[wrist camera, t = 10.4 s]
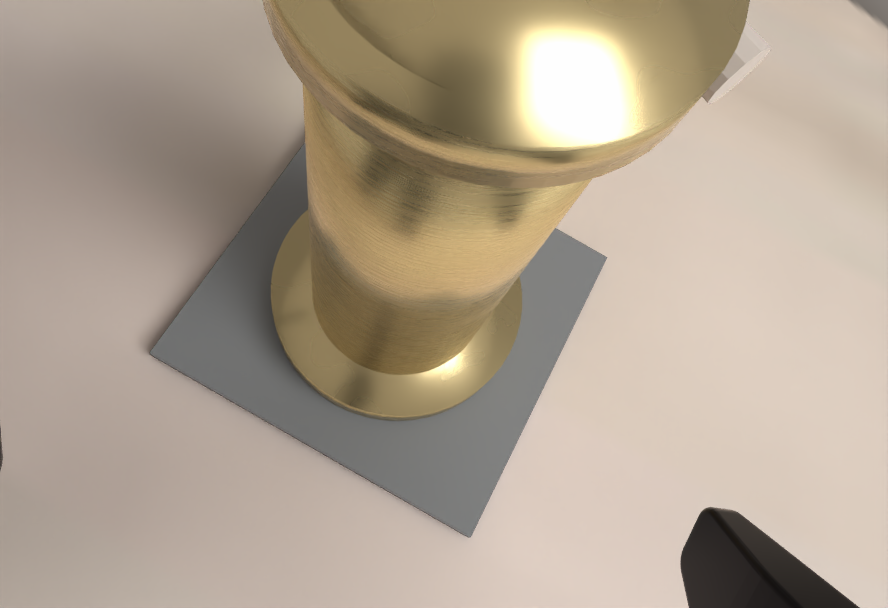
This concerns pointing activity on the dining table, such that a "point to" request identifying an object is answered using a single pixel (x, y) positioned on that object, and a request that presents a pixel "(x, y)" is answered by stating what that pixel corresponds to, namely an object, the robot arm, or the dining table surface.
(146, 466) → the dining table surface
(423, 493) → the mat
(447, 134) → the brass pedestal cup
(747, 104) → the dining table surface
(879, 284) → the dining table surface
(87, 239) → the dining table surface
